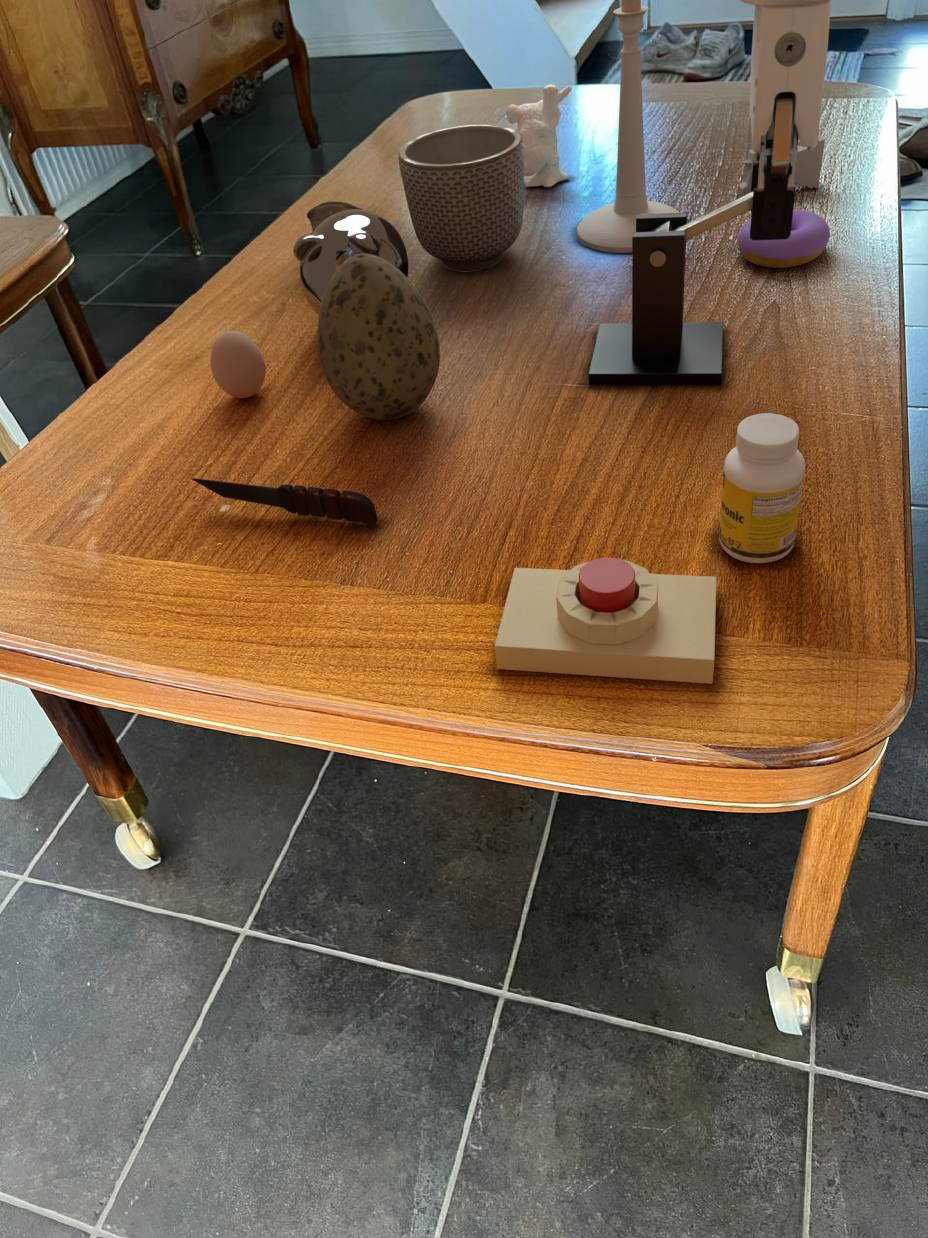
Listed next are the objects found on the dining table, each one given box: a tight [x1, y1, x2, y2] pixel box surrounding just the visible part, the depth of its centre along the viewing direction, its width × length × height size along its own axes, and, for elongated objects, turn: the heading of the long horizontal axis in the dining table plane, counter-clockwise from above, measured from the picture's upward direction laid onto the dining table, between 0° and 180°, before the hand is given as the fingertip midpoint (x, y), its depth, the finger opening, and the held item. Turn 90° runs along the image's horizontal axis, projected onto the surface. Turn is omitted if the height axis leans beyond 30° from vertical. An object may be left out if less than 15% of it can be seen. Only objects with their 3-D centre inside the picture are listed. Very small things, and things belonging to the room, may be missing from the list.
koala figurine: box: [506, 83, 573, 188], centre depth 125 cm, size 8×7×12 cm
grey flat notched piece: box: [738, 136, 826, 196], centre depth 115 cm, size 6×1×10 cm
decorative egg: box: [316, 253, 441, 421], centre depth 85 cm, size 11×11×15 cm
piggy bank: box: [292, 208, 409, 316], centre depth 100 cm, size 11×15×12 cm
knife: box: [191, 478, 379, 529], centre depth 79 cm, size 17×1×3 cm, turn 71°
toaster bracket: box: [588, 212, 724, 386], centre depth 87 cm, size 12×10×13 cm
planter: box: [398, 123, 525, 273], centre depth 109 cm, size 14×14×13 cm
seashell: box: [306, 201, 363, 231], centre depth 116 cm, size 16×9×7 cm, turn 176°
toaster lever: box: [648, 176, 766, 242], centre depth 82 cm, size 12×5×2 cm, turn 79°
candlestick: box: [576, 0, 680, 254], centre depth 104 cm, size 13×13×30 cm
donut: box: [736, 208, 831, 269], centre depth 104 cm, size 10×9×5 cm
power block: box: [494, 559, 718, 685], centre depth 64 cm, size 14×8×4 cm, turn 78°
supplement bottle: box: [718, 412, 806, 564], centre depth 67 cm, size 5×5×10 cm
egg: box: [210, 330, 267, 399], centre depth 93 cm, size 5×5×7 cm
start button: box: [579, 556, 635, 613], centre depth 62 cm, size 4×4×2 cm
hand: (769, 221), depth 81 cm, fingers closed on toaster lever, 5 cm apart
